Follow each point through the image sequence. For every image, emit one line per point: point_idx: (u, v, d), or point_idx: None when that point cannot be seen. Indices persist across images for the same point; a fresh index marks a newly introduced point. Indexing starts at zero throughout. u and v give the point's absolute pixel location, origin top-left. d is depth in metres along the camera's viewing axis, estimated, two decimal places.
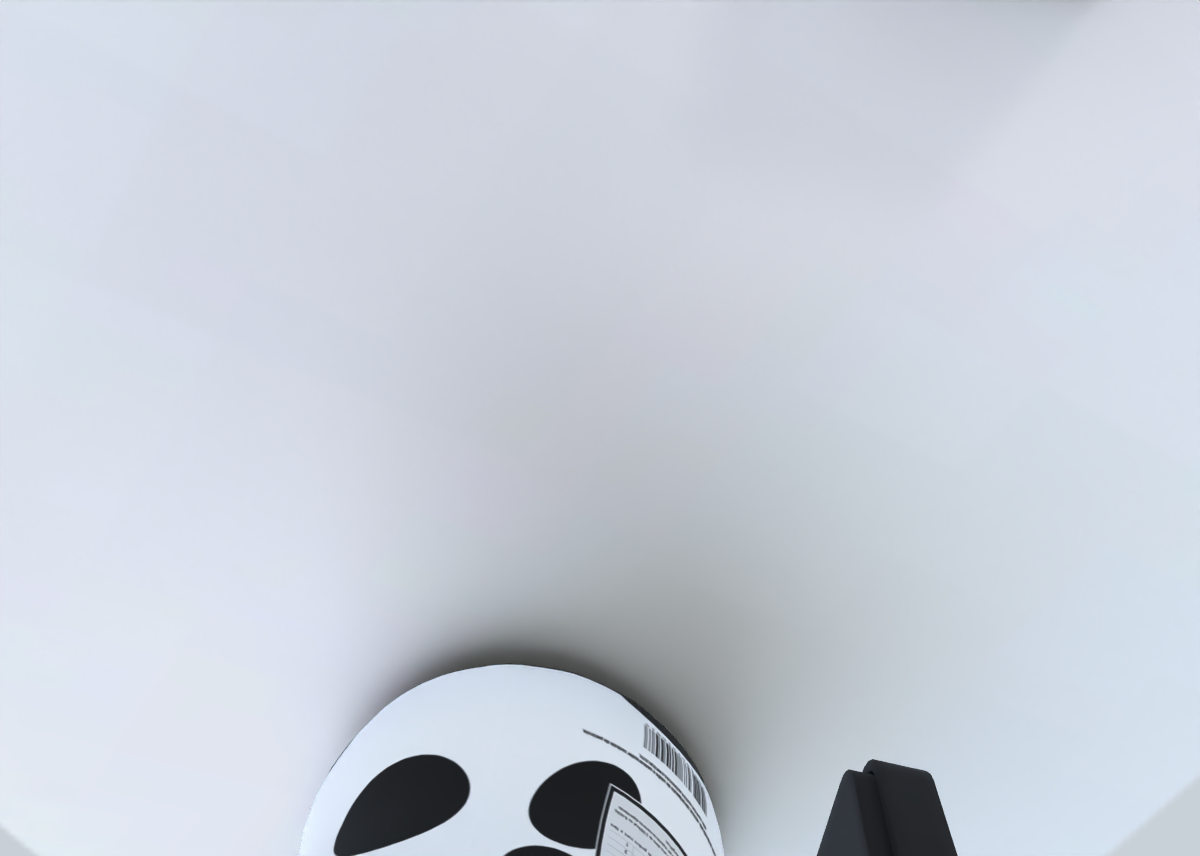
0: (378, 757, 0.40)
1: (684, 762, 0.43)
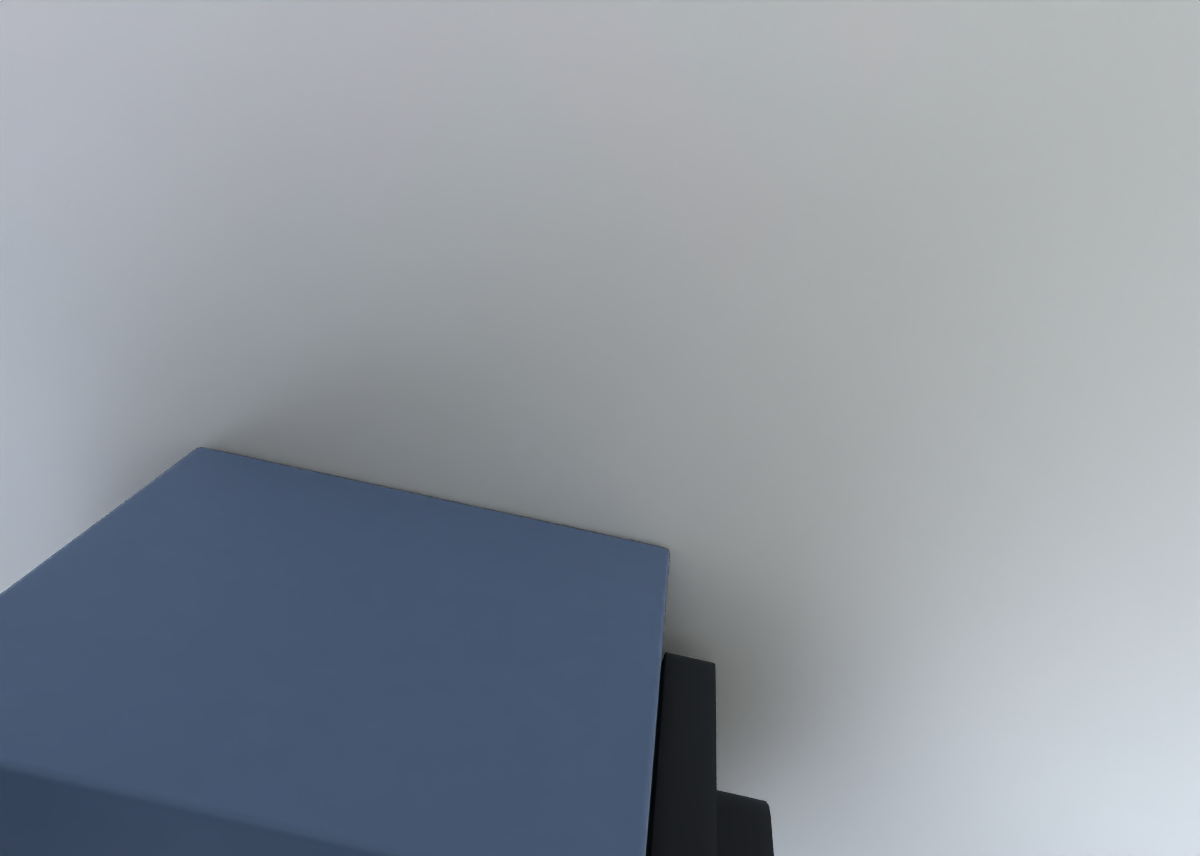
0: None
1: None
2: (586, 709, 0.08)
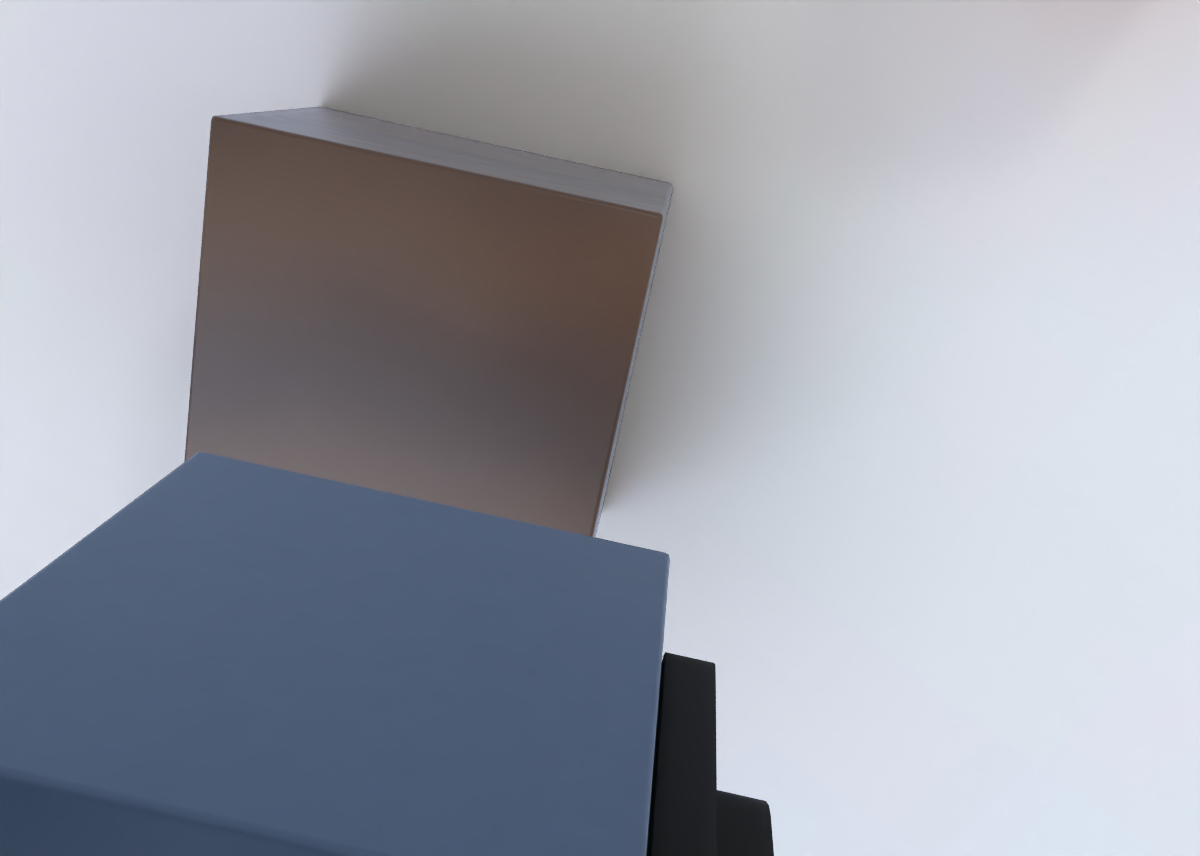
0: None
1: None
2: (587, 717, 0.08)
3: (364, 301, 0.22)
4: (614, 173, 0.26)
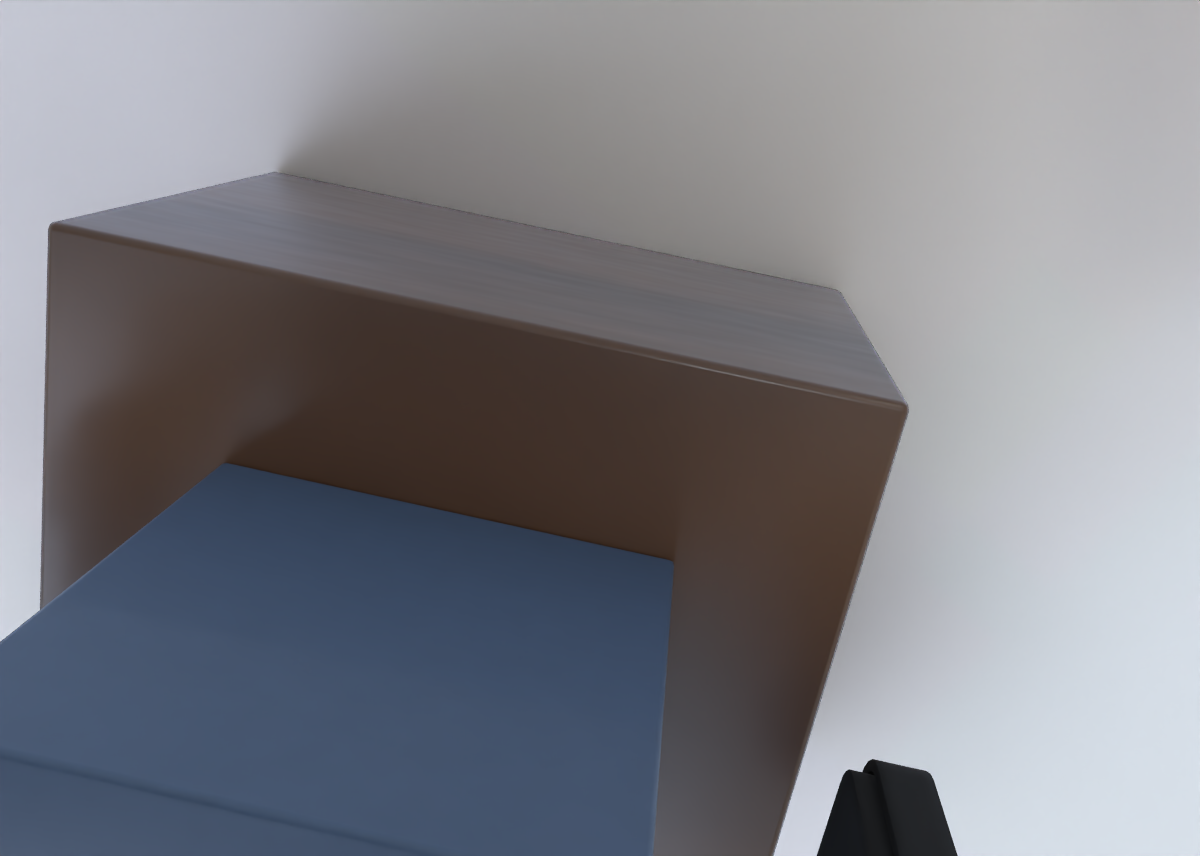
0: None
1: None
2: (596, 715, 0.08)
3: None
4: (751, 278, 0.16)
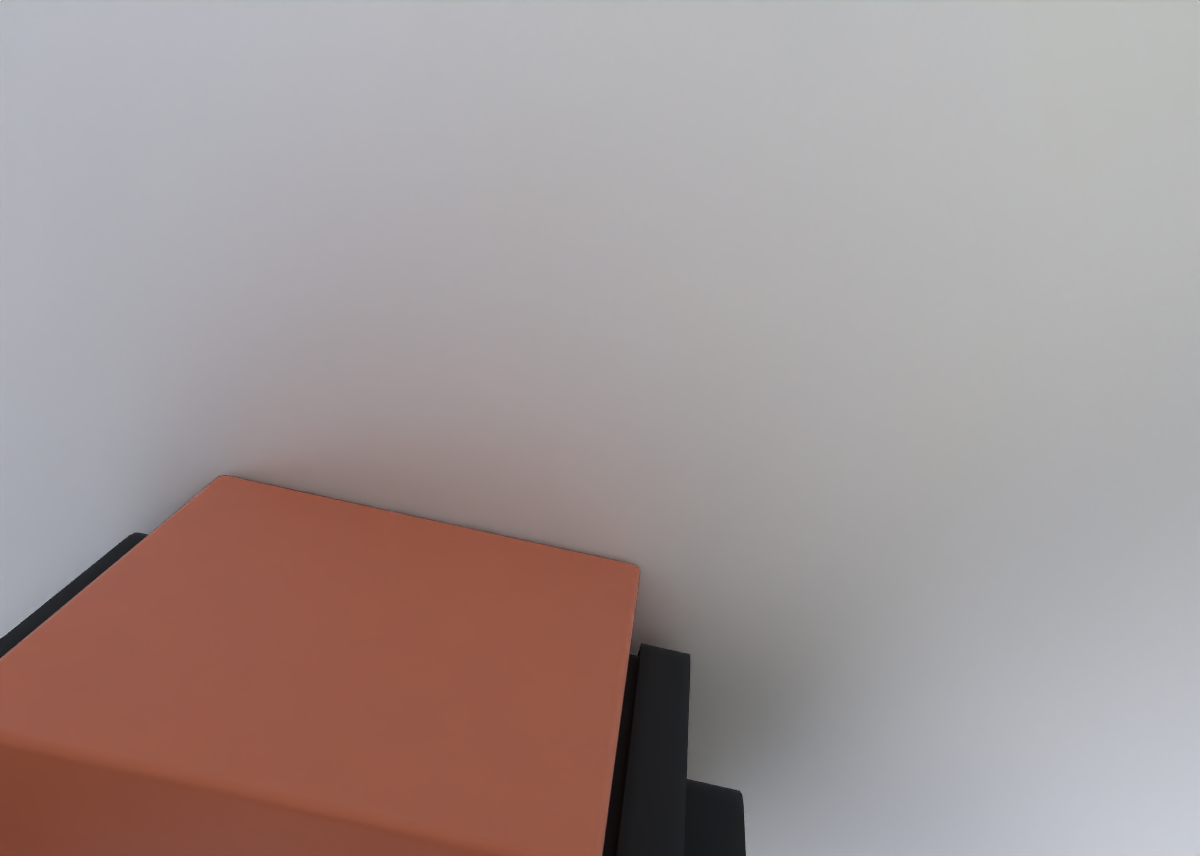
0: None
1: None
2: None
3: None
4: None
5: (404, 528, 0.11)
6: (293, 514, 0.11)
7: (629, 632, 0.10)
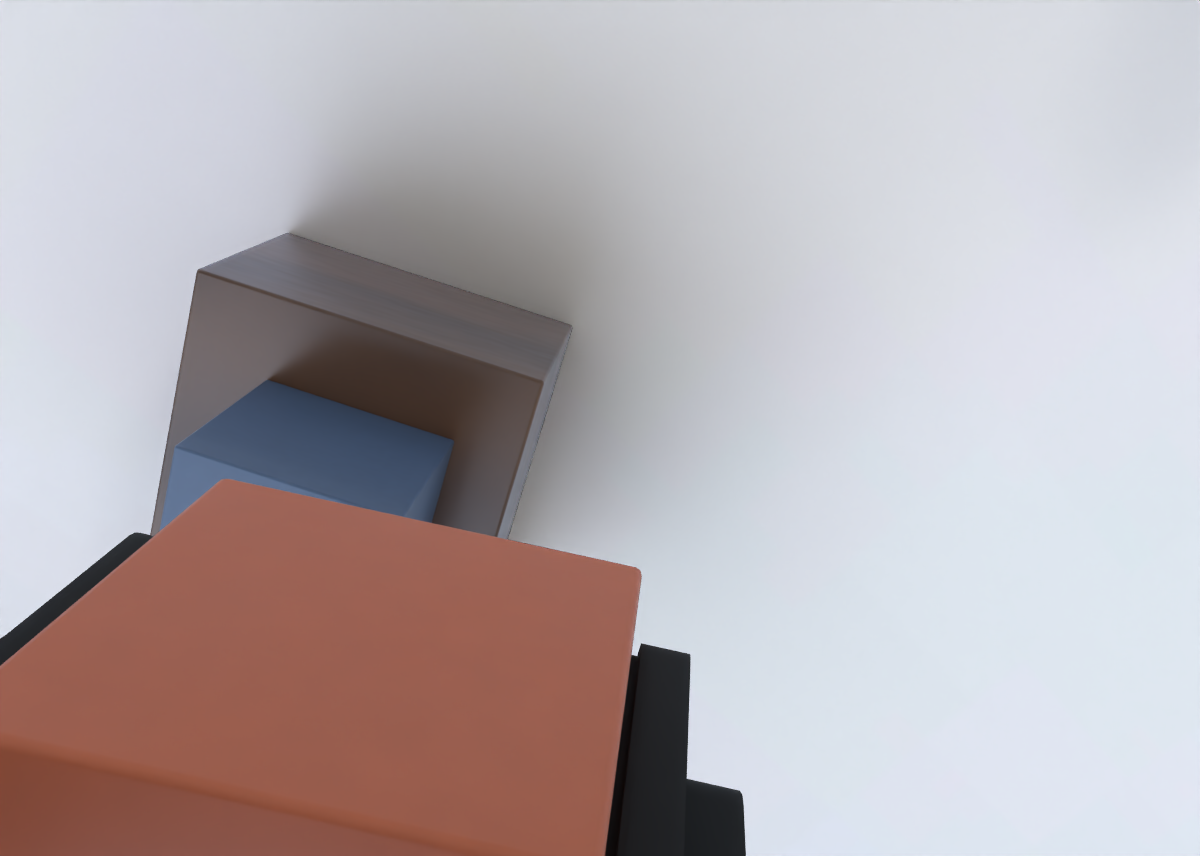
0: None
1: None
2: (401, 479, 0.24)
3: None
4: (524, 315, 0.31)
5: (404, 531, 0.11)
6: (294, 516, 0.11)
7: (630, 635, 0.10)
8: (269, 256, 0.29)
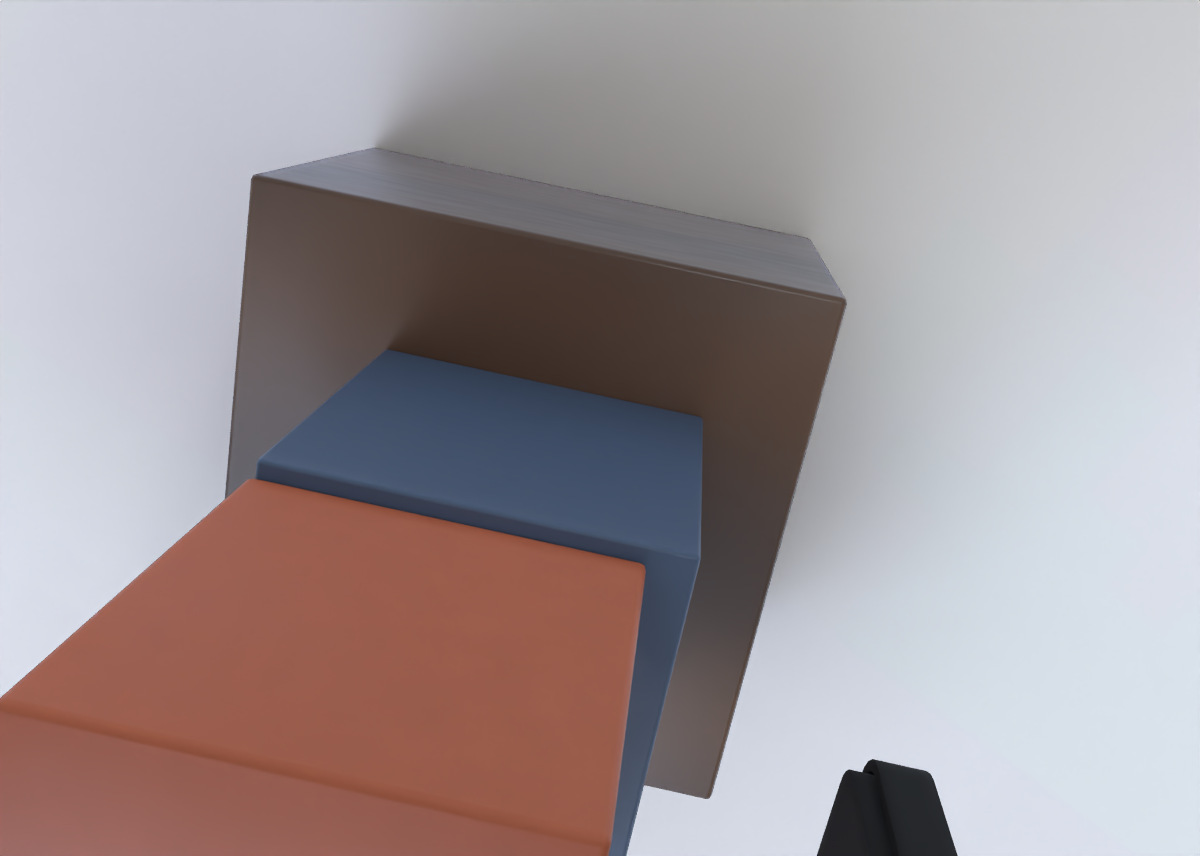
0: None
1: None
2: (660, 484, 0.13)
3: None
4: (741, 228, 0.21)
5: (423, 528, 0.11)
6: (318, 514, 0.11)
7: (636, 625, 0.10)
8: (357, 166, 0.19)
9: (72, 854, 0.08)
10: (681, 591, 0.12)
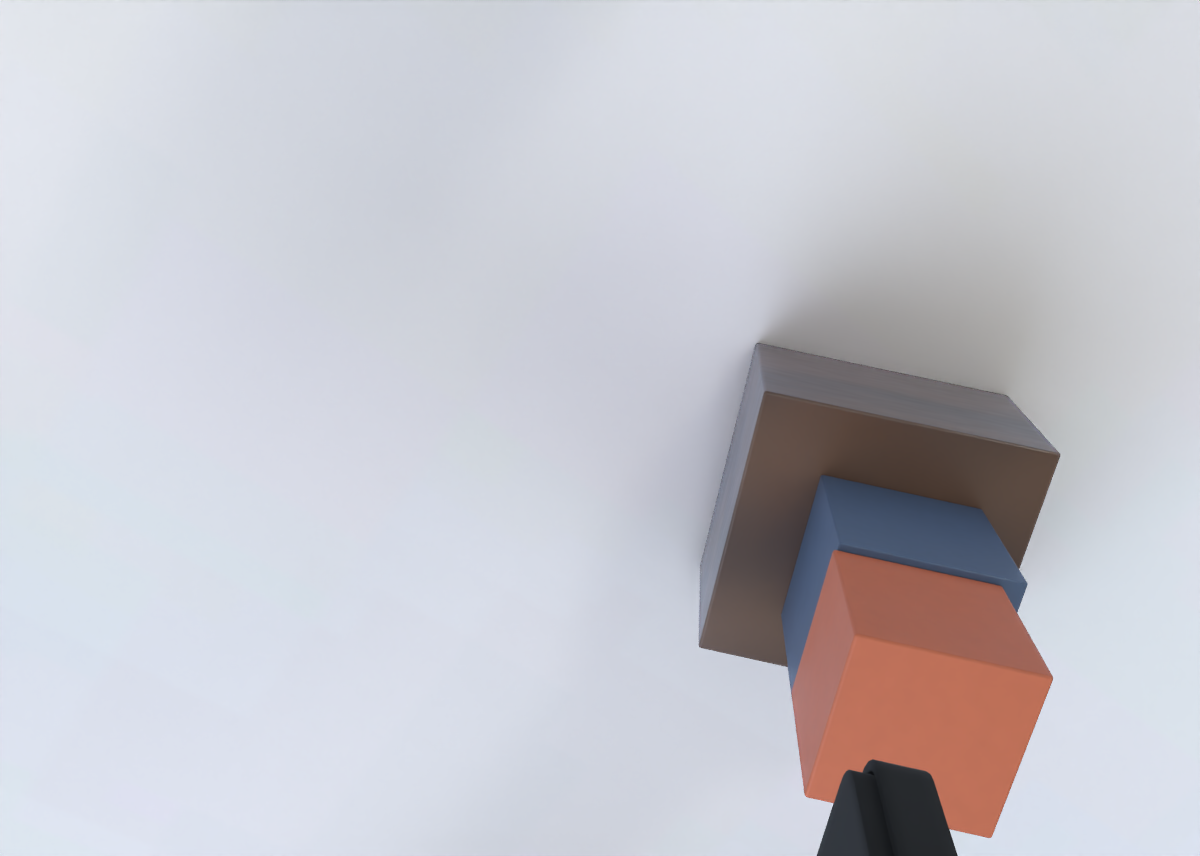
0: None
1: None
2: (990, 549, 0.30)
3: None
4: (972, 392, 0.37)
5: (913, 571, 0.28)
6: (874, 566, 0.27)
7: (1015, 611, 0.27)
8: (780, 369, 0.35)
9: (869, 685, 0.24)
10: (1018, 597, 0.28)
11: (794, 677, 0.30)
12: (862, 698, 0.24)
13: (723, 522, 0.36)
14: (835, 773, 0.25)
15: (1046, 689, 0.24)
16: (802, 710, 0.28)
